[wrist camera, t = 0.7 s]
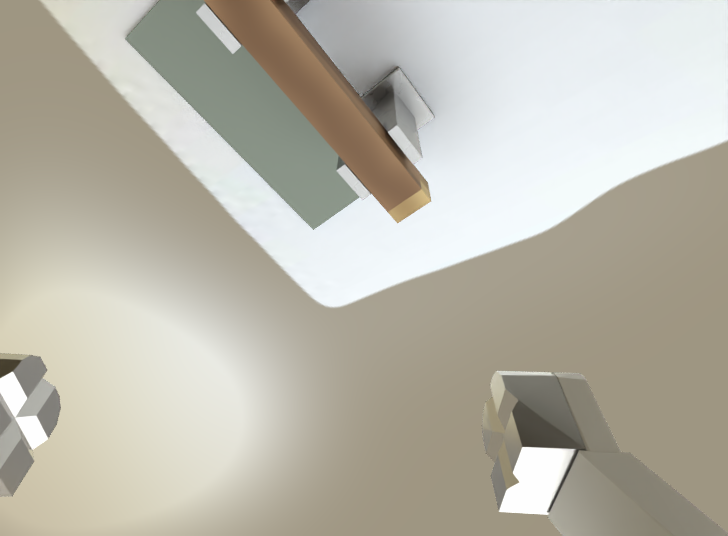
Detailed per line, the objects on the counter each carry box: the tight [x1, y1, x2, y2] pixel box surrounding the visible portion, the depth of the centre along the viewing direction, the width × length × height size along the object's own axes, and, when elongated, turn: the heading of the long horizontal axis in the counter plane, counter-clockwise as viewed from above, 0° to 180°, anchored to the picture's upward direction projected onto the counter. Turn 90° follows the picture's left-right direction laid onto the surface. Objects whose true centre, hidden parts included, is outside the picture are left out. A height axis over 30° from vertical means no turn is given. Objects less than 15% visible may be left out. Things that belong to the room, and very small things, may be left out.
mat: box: [125, 0, 359, 230], centre depth 42 cm, size 7×22×1 cm, turn 39°
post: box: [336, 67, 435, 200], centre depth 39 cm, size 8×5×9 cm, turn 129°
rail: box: [204, 0, 431, 223], centre depth 33 cm, size 3×21×3 cm, turn 38°
